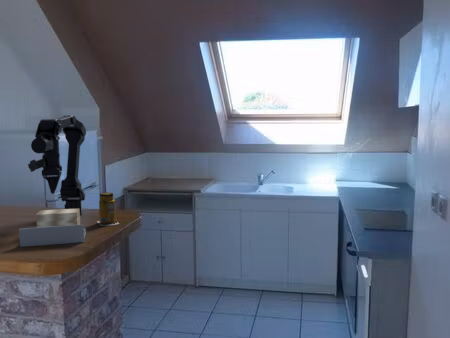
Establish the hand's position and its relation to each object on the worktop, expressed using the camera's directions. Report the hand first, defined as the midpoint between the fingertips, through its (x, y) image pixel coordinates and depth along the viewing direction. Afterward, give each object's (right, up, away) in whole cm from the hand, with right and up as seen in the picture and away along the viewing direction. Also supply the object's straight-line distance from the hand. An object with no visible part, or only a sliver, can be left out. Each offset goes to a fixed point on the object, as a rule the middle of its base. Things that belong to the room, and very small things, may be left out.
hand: (53, 191), depth 172 cm
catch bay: (+7, -16, -18) cm, 25 cm away
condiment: (+20, -13, +4) cm, 24 cm away
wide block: (+5, -15, -8) cm, 17 cm away
